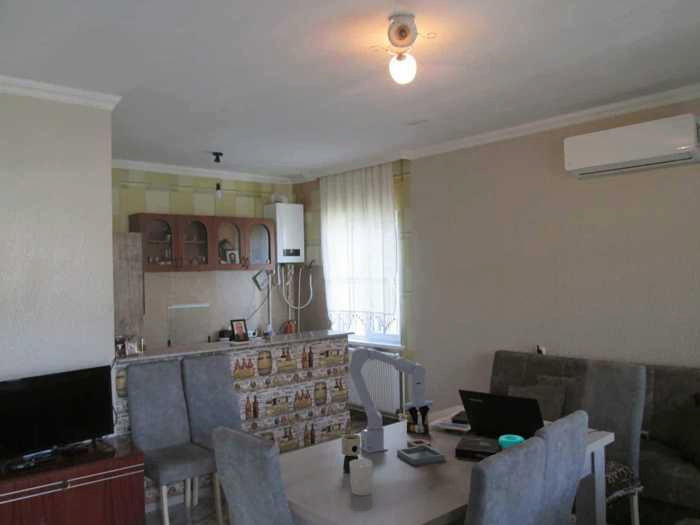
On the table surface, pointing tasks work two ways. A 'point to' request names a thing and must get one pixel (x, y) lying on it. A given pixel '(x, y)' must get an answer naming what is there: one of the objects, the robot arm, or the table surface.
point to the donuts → (510, 440)
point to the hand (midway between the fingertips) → (418, 424)
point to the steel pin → (419, 423)
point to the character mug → (350, 449)
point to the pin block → (418, 443)
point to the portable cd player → (477, 448)
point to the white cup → (361, 476)
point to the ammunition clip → (412, 427)
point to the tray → (420, 455)
